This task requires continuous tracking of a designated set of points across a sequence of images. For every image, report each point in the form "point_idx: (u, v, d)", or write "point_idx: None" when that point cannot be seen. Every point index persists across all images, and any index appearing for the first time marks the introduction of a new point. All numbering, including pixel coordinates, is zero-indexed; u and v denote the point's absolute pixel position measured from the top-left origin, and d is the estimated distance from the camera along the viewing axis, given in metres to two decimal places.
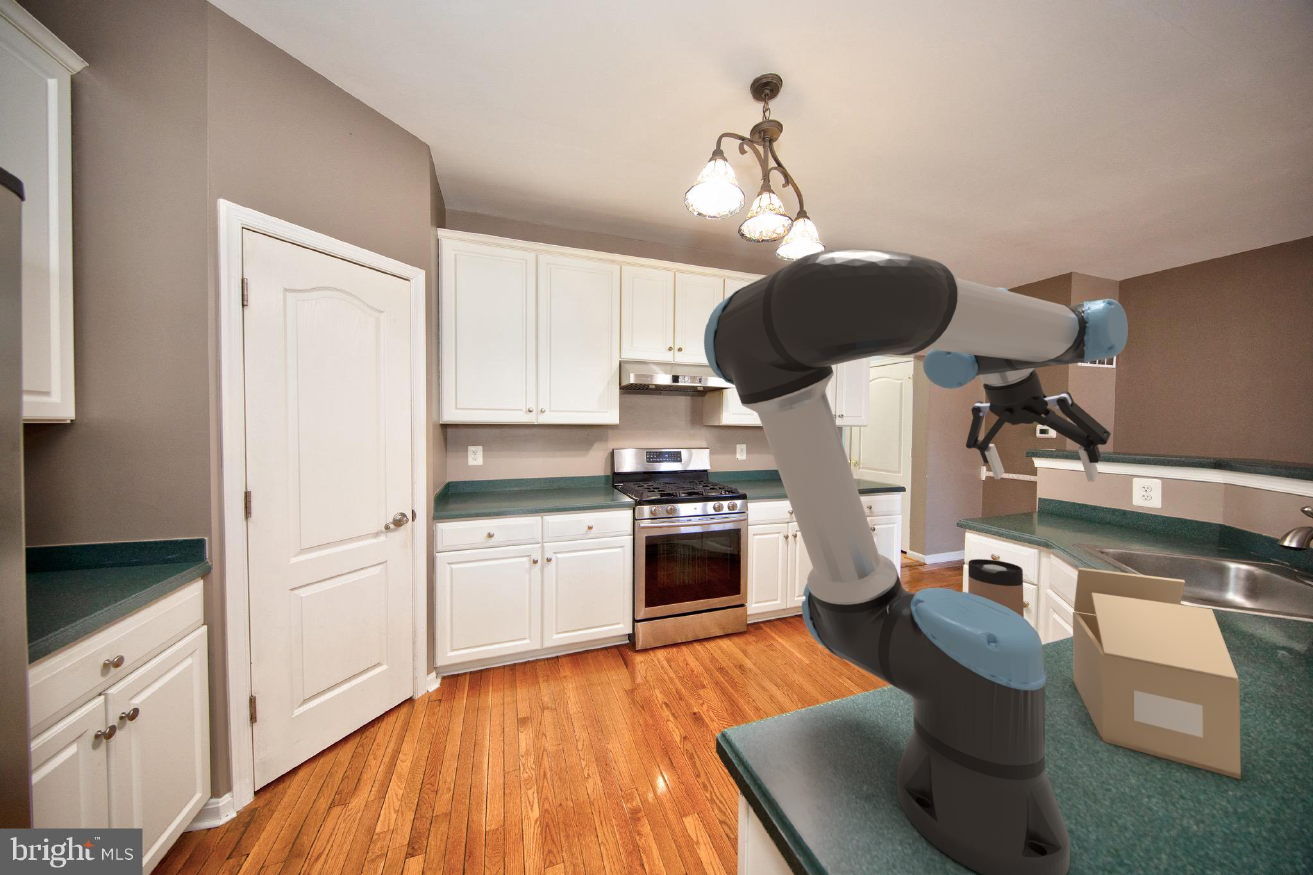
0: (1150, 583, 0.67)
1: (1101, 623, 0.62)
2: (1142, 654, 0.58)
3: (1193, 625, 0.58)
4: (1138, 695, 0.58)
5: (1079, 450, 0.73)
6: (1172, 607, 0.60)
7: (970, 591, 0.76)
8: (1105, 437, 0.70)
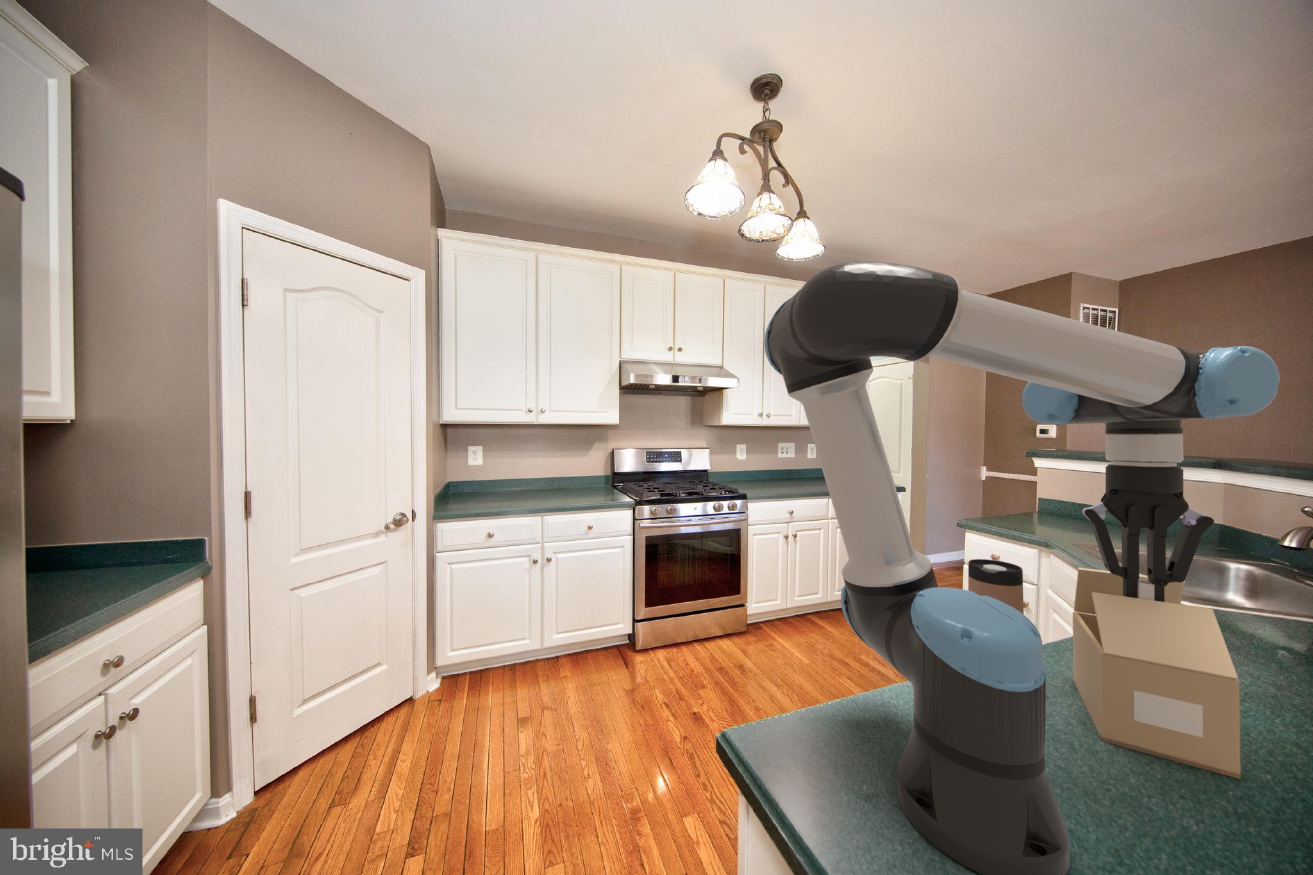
0: None
1: (1101, 623, 0.62)
2: (1142, 654, 0.58)
3: (1193, 625, 0.58)
4: (1138, 695, 0.58)
5: (1148, 585, 0.62)
6: (1172, 607, 0.60)
7: None
8: None
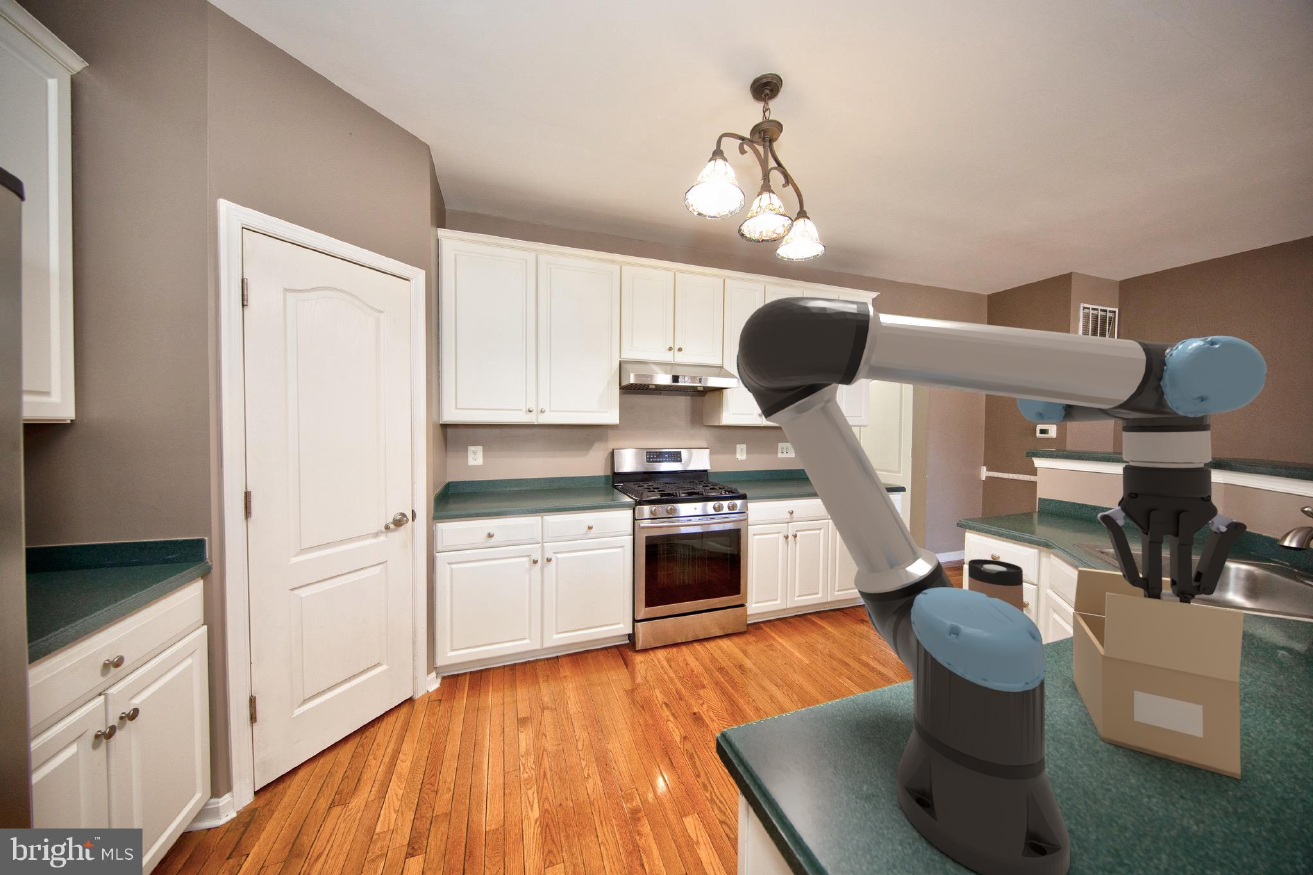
0: None
1: (1109, 627, 0.59)
2: (1144, 658, 0.57)
3: (1213, 630, 0.53)
4: (1138, 695, 0.58)
5: (1172, 598, 0.56)
6: (1196, 611, 0.54)
7: None
8: None
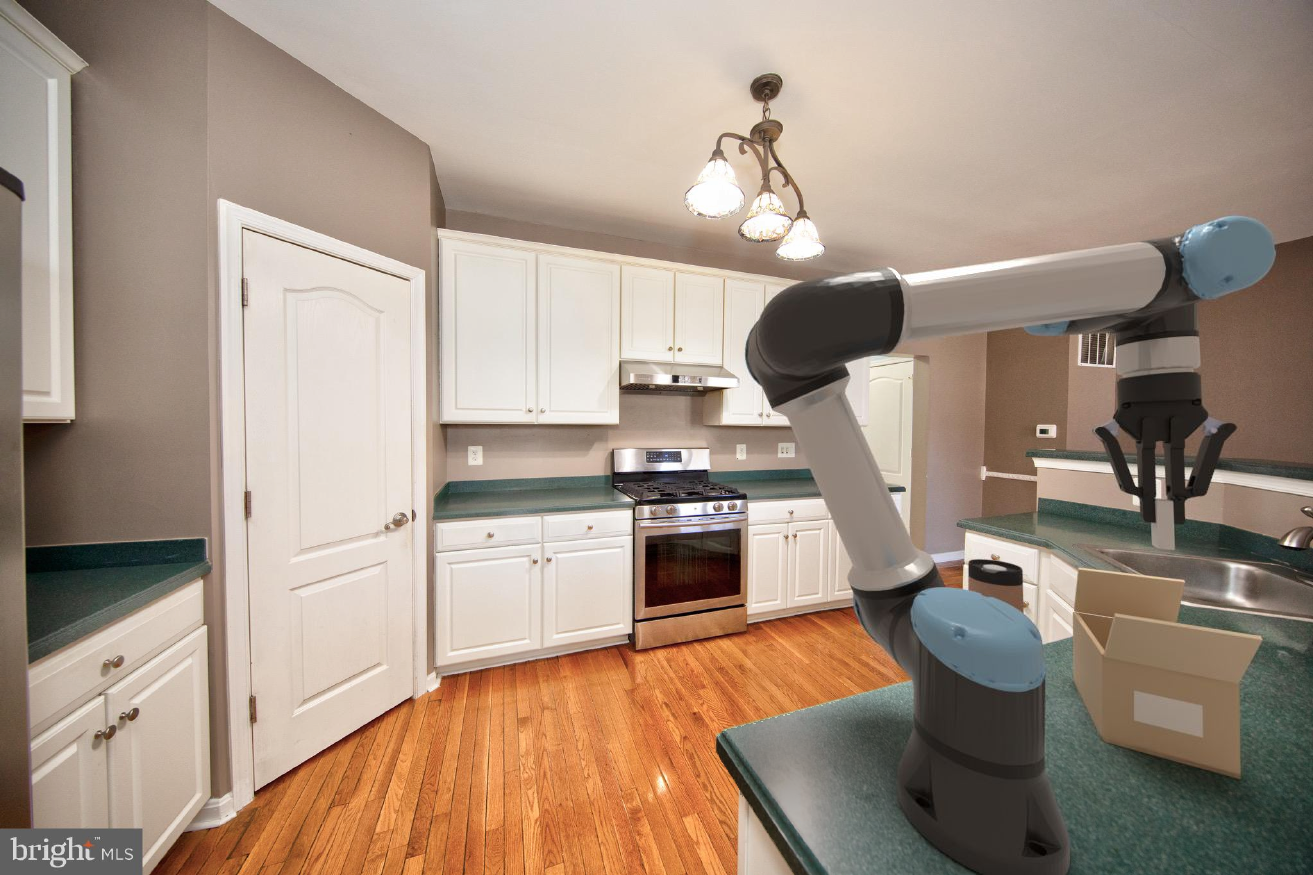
0: (1150, 583, 0.67)
1: (1112, 639, 0.57)
2: (1145, 661, 0.57)
3: (1224, 649, 0.51)
4: (1138, 695, 0.58)
5: (1166, 502, 0.58)
6: (1210, 635, 0.51)
7: None
8: None
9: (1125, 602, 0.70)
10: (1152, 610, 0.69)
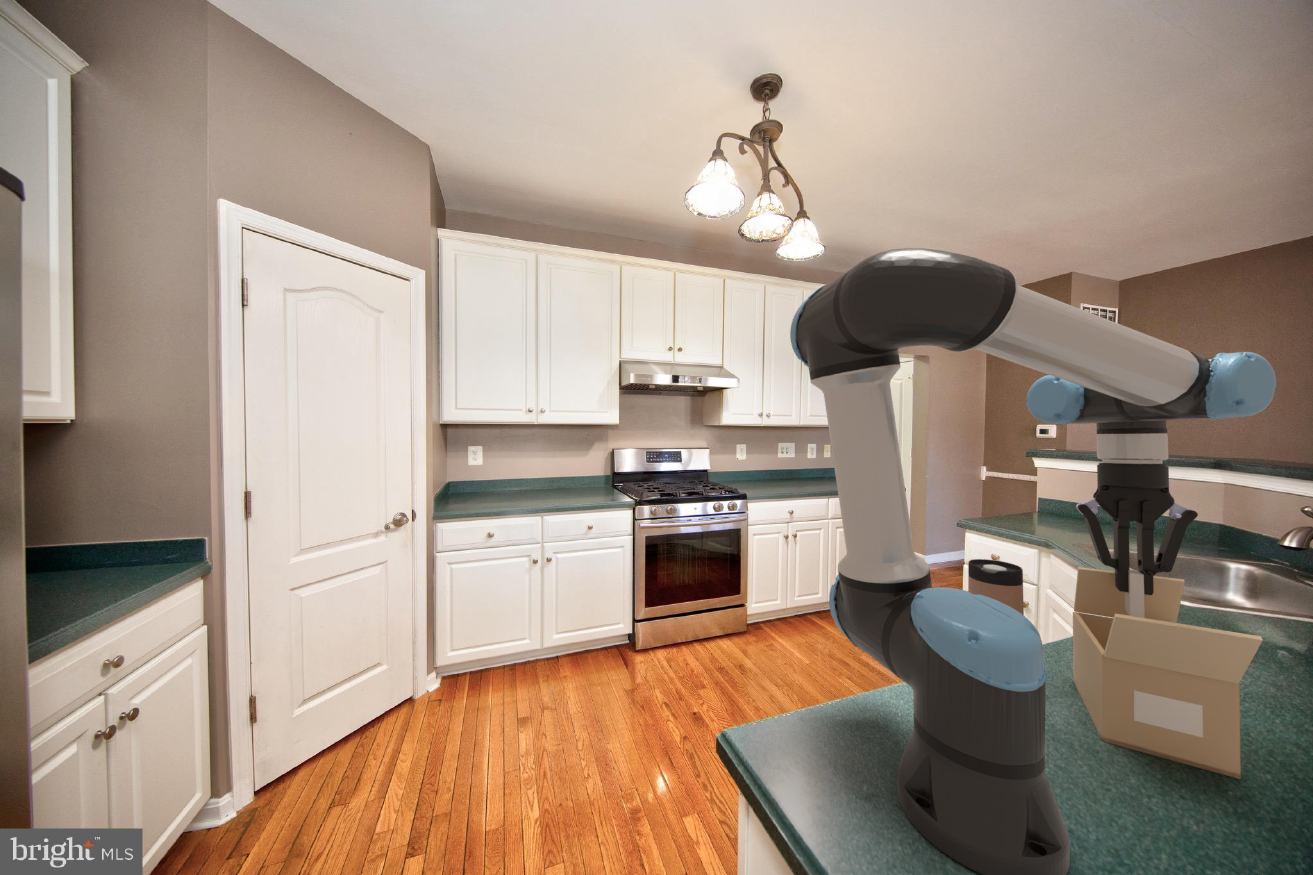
0: None
1: (1112, 639, 0.57)
2: (1145, 661, 0.57)
3: (1224, 649, 0.51)
4: (1138, 695, 0.58)
5: (1137, 575, 0.66)
6: (1210, 635, 0.51)
7: (970, 591, 0.76)
8: None
9: None
10: (1152, 610, 0.69)
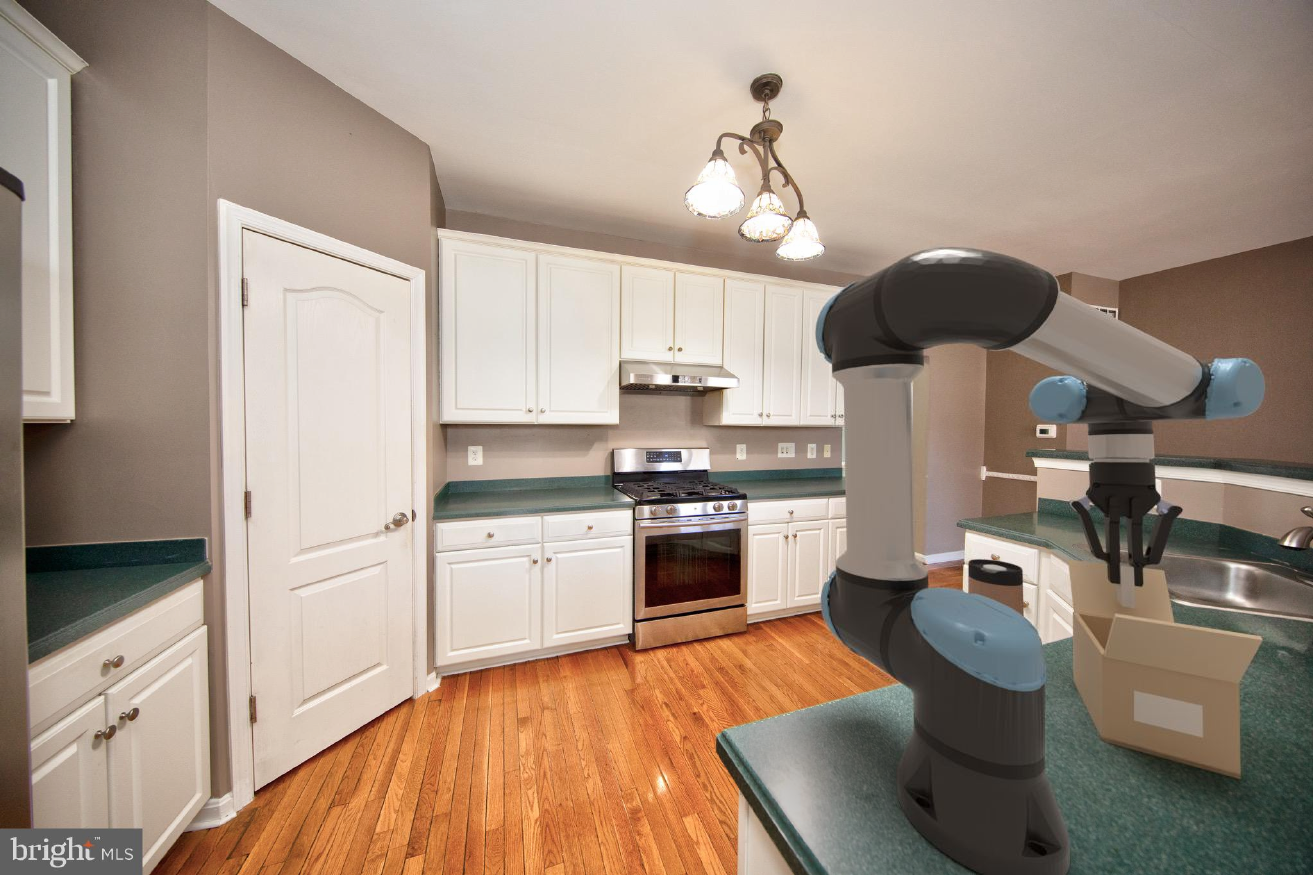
0: None
1: (1112, 639, 0.57)
2: (1145, 661, 0.57)
3: (1224, 649, 0.51)
4: (1138, 695, 0.58)
5: (1128, 567, 0.70)
6: (1210, 635, 0.51)
7: (970, 591, 0.76)
8: None
9: None
10: (1146, 606, 0.71)
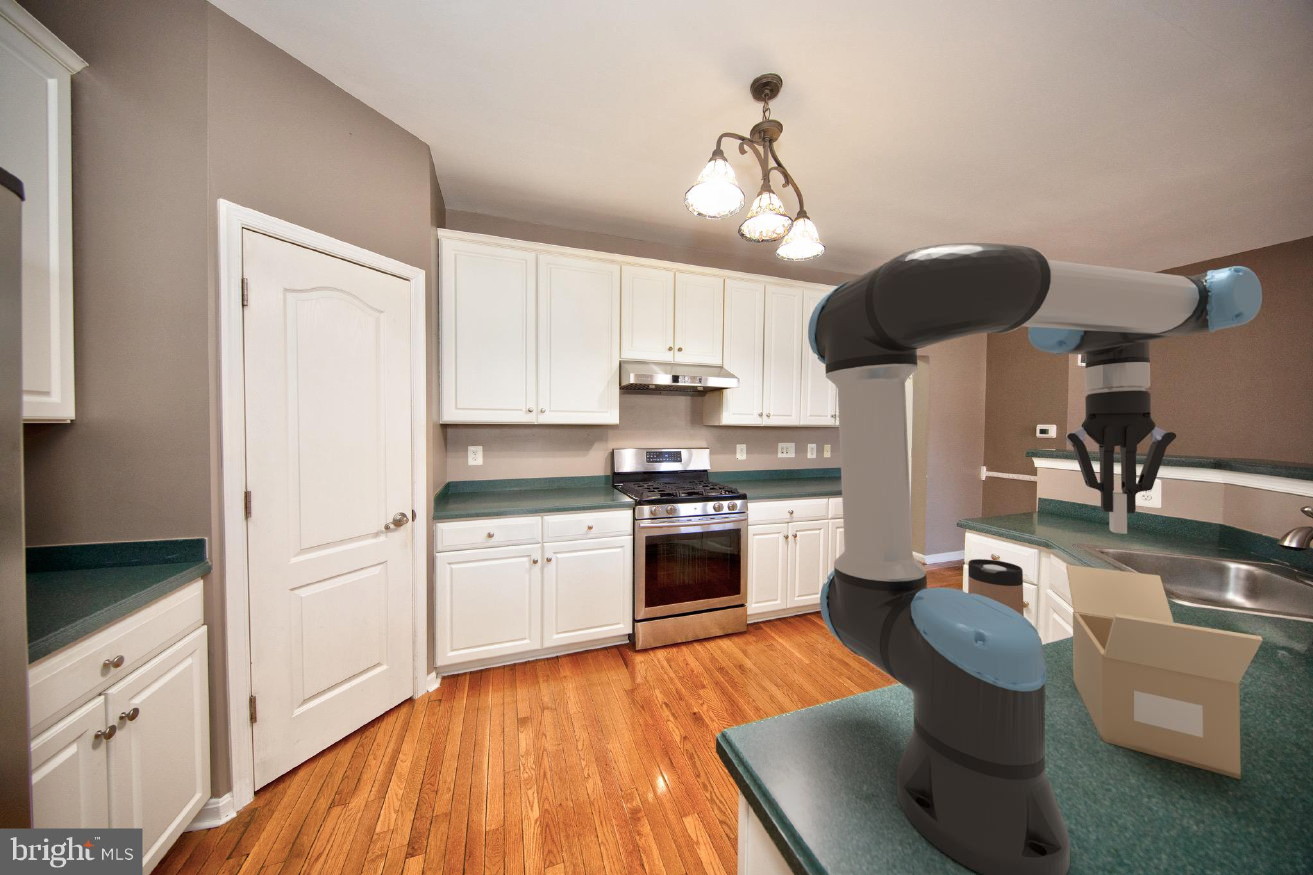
0: (1131, 577, 0.75)
1: (1112, 639, 0.57)
2: (1145, 661, 0.57)
3: (1224, 649, 0.51)
4: (1138, 695, 0.58)
5: (1121, 495, 0.72)
6: (1210, 635, 0.51)
7: (970, 591, 0.76)
8: None
9: (1117, 598, 0.73)
10: (1145, 607, 0.71)
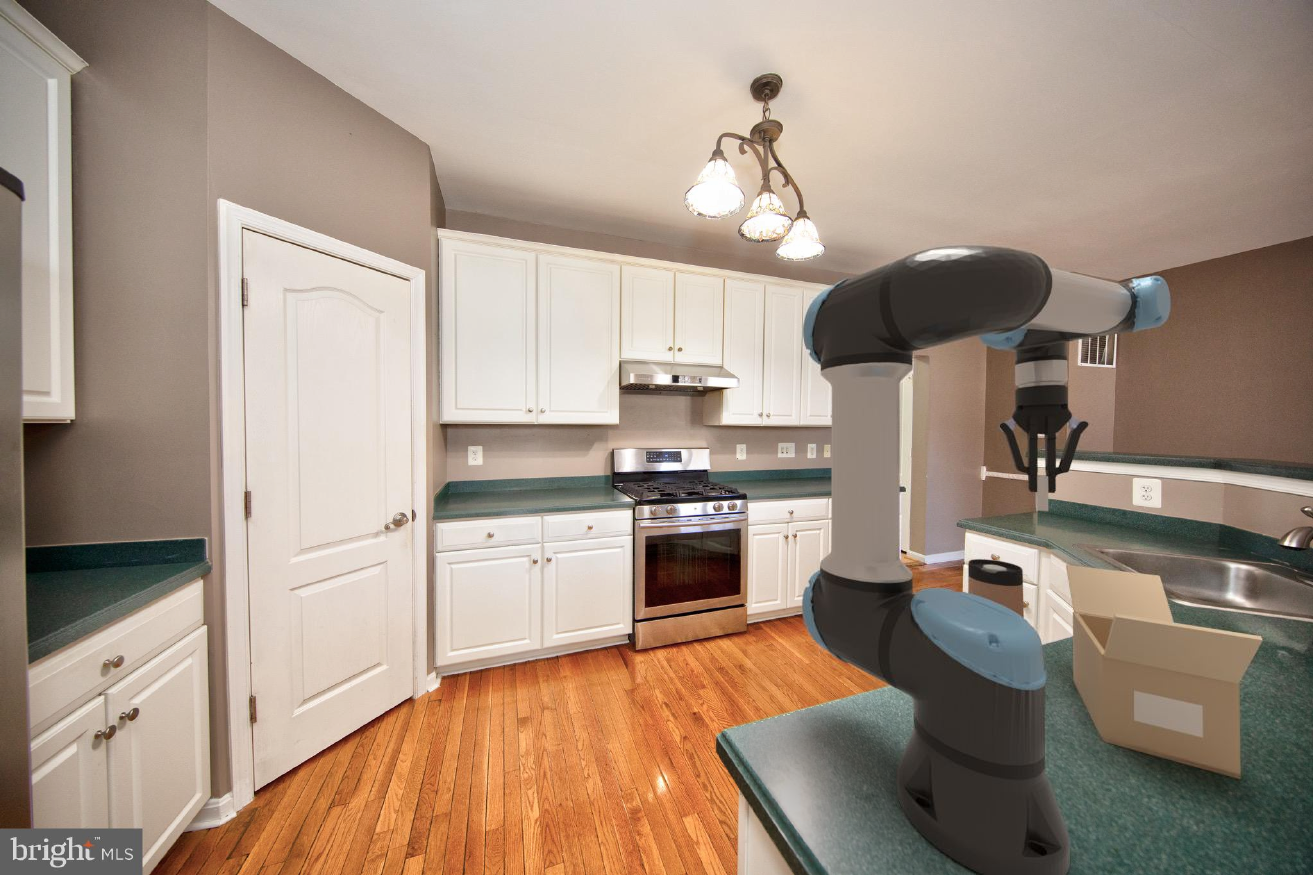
0: (1131, 577, 0.75)
1: (1112, 639, 0.57)
2: (1145, 661, 0.57)
3: (1224, 649, 0.51)
4: (1138, 695, 0.58)
5: (1043, 477, 0.81)
6: (1210, 635, 0.51)
7: (970, 591, 0.76)
8: None
9: (1117, 598, 0.74)
10: (1145, 607, 0.71)
